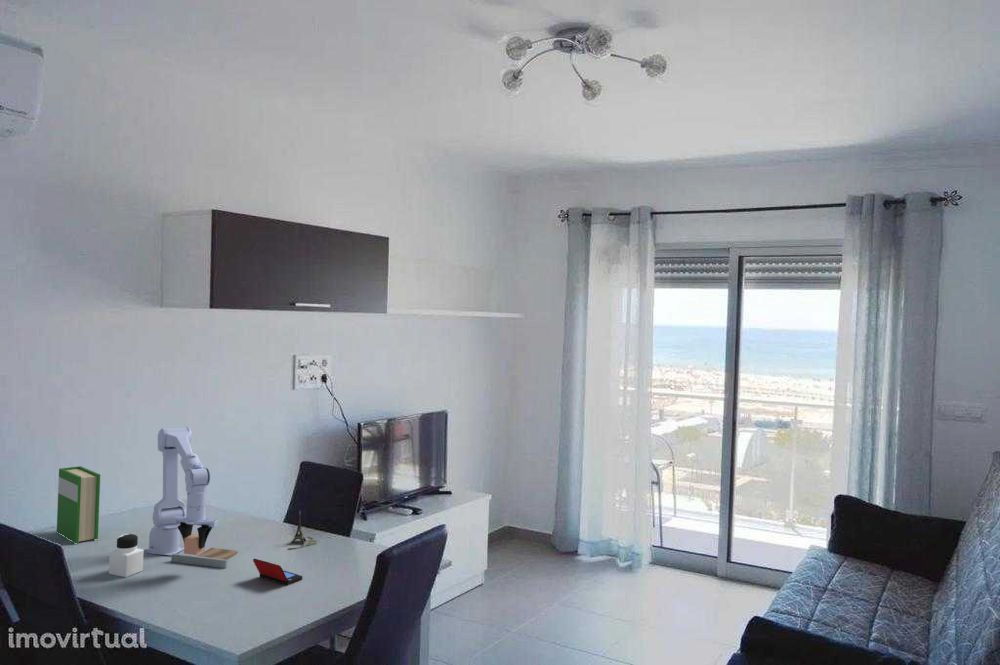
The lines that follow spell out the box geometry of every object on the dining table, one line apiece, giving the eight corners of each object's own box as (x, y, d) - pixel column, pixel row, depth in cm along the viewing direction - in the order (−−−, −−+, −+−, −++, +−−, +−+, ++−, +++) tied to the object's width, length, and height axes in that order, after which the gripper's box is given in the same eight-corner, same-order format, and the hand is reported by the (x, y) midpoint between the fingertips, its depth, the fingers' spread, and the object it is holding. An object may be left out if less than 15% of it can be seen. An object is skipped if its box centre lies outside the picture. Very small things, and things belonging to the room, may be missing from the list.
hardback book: (97, 540, 270) (100, 474, 270) (75, 544, 264) (78, 477, 264) (78, 529, 281) (80, 466, 281) (56, 533, 276) (59, 468, 275)
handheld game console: (304, 579, 242) (305, 557, 242) (279, 589, 233) (280, 566, 233) (276, 571, 249) (277, 549, 248) (250, 580, 239) (251, 557, 239)
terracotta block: (183, 553, 240) (184, 538, 240) (192, 549, 245) (192, 534, 245) (196, 555, 240) (197, 539, 240) (204, 550, 244) (205, 535, 244)
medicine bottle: (143, 570, 242) (144, 534, 242) (125, 577, 236) (127, 540, 235) (126, 567, 245) (127, 531, 244) (108, 574, 238) (109, 536, 238)
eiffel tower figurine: (289, 552, 270) (291, 515, 269) (273, 545, 276) (275, 509, 276) (323, 543, 281) (325, 508, 281) (307, 537, 288) (309, 503, 287)
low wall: (171, 561, 252) (171, 554, 252) (173, 560, 253) (173, 553, 253) (225, 568, 249) (225, 560, 248) (227, 567, 250) (227, 559, 249)
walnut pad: (195, 559, 255) (195, 556, 255) (211, 550, 265) (211, 547, 265) (221, 562, 254) (222, 559, 254) (237, 553, 264) (237, 550, 263)
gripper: (168, 506, 239) (166, 548, 240) (209, 510, 237) (208, 553, 237) (181, 501, 246) (180, 541, 247) (221, 505, 244) (220, 546, 244)
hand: (194, 547), depth 242 cm, fingers closed on terracotta block, 4 cm apart
